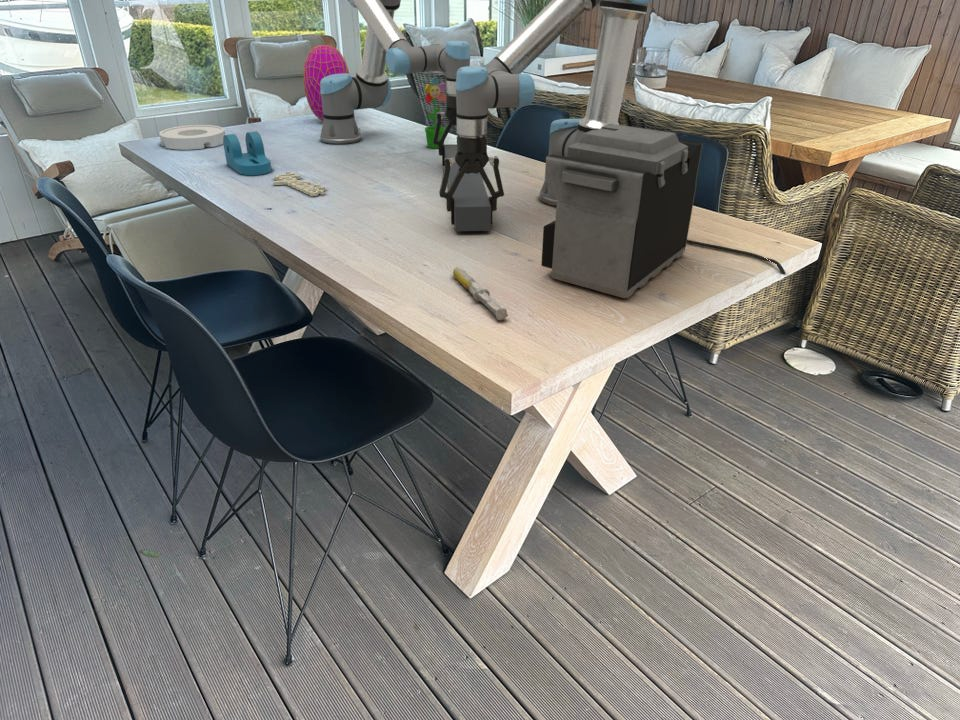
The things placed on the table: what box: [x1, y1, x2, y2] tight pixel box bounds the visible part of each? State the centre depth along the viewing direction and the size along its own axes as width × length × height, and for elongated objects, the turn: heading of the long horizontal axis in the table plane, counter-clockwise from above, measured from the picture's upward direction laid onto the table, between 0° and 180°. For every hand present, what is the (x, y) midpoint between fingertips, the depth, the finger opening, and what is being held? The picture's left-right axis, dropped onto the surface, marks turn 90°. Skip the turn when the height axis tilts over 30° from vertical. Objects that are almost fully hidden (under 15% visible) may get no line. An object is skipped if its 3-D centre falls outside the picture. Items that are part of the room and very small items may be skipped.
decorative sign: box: [273, 171, 326, 197], centre depth 212 cm, size 26×1×10 cm
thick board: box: [444, 143, 492, 232], centre depth 204 cm, size 67×9×6 cm, turn 5°
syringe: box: [452, 266, 509, 321], centre depth 145 cm, size 25×4×3 cm, turn 21°
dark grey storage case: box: [540, 124, 704, 299], centre depth 153 cm, size 37×22×30 cm, turn 144°
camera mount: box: [222, 131, 272, 176], centre depth 226 cm, size 18×10×10 cm, turn 35°
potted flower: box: [424, 75, 447, 149], centre depth 252 cm, size 9×8×25 cm
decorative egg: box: [303, 44, 350, 122], centre depth 287 cm, size 19×19×30 cm
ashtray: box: [158, 124, 226, 151], centre depth 259 cm, size 23×23×4 cm
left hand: (458, 165), depth 230 cm, fingers closed on thick board, 9 cm apart
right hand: (471, 222), depth 180 cm, fingers closed on thick board, 9 cm apart
